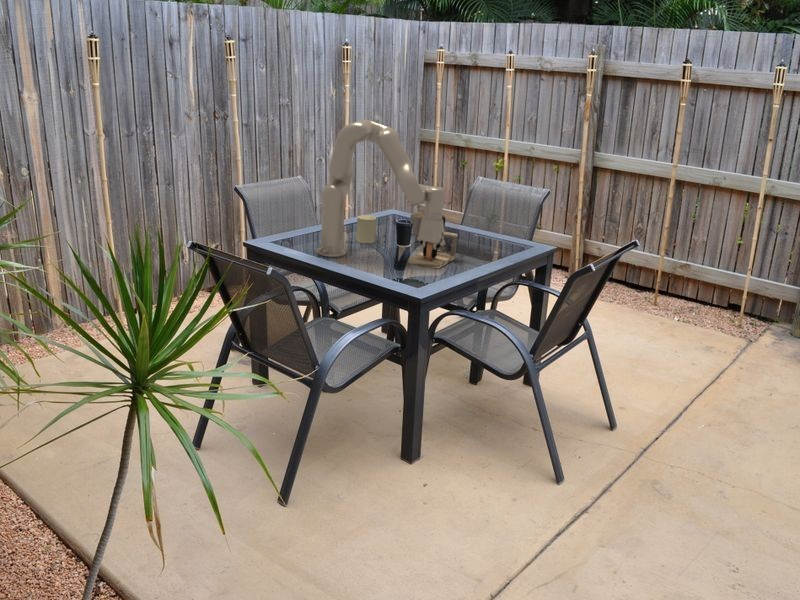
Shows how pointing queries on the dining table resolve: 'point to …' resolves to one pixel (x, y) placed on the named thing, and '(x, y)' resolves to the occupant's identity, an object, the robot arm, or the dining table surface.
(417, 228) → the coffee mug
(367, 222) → the can
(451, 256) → the socket block
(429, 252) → the peg
